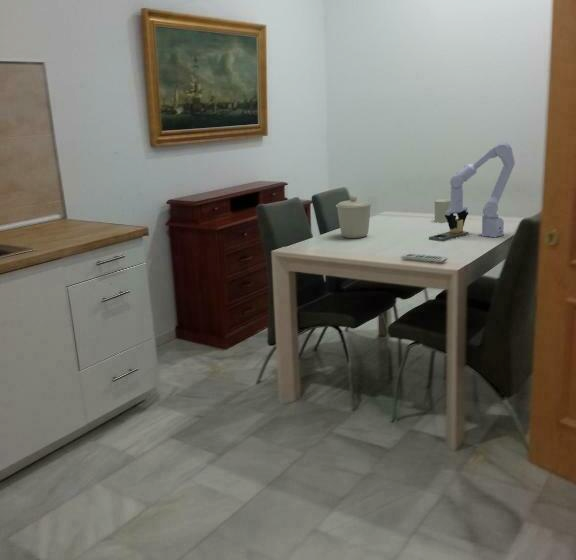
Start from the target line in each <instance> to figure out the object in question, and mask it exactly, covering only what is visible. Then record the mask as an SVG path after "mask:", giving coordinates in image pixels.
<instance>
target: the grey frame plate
mask: <svg viewBox="0 0 576 560" xmlns="http://www.w3.org/2000/svg"><path fill="white" fill-rule="evenodd" d="M467 234H468V235H469V231H465V230H463V233H459V234H453V233H450V230H449V231H446V232H442V233H439V234H438V233H437V234H436V235H431V236H428V240H430V241H437V242H447V241H448V240H454V239H456V237H457V238H460V236H461V237H464V236H468V235H467ZM463 235H464V236H463Z"/></svg>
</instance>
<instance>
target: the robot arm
mask: <svg viewBox="0 0 576 560" xmlns="http://www.w3.org/2000/svg"><path fill="white" fill-rule="evenodd" d="M514 156H515V155H514V153H513V148H512V147H511V145H510V144H509V143H508V141H507V142H506V141H500V142H499V143H498V144H497V145H494V146H492V147H491V148H490V149H488V150H486V152H485V153H484V154H483V155H481V156H480V157H479V158H478V159H477V160H475V161H474V162H473V163H468V164H464V166H463V168H461V170H459V171H457V172H456V173H455V175H453V176H452V177H451V178H450V180H449V183H450V200H451V208H450V209H449V210H448V211H446V214H445V218H446V219H447V221H448V222H447V224H448V228H449V230H450V229H454V224H455V219H462V220H463V227H464V226H465V221H466V219H467V217H468V215H469V212H468V207H467V206H464V205H463V203H464V200H463V199H464V191H463V184H464V182H467V181H469V180H470V179H471V178H472V177H473V176H475V175H476V174H477V169H479V168H480V167H481V166H483V165H484V164H485V163H486V162H488V161H489V160H490V159H494V158H497V157H498V158H499V159H500V160H501V162H502V164H503V166H502V168H501V171H500V173H499V176H498V178H497V180H496V182H495V185H494V187H493V190H492V192H491V195H490V197H489V199H488V201H487V202H486V203H485V204H484V207H483V209H482V214H483V215H482V218H481V219H482V220H481V221H482V222H481V225H482V227H481V229H482V230H481V232H482V233H478V236H481V235H482V236H481V237H488V236H489V238H497V237H501V236H504V235H505V233H504V227H505V226H504V224H505V223H504V219H503V218H501V217H499V214H497V211H498V209H499V208H498V205H499V202H500V199H501V198H502V195H503V193H504V191H505V188H506V185H507V183H508V181H509V179H510V177H511V174H512V172H513V168H514V166H515V164H516V162H515V157H514ZM454 214H456V215H454Z"/></svg>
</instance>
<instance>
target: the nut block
mask: <svg viewBox="0 0 576 560" xmlns="http://www.w3.org/2000/svg"><path fill="white" fill-rule="evenodd" d="M449 231H450V233H453V234H459V233H463V231H464V226H463V220H462V219H458V218H456V219H455V224H454V229H450V228H449Z"/></svg>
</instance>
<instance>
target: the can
mask: <svg viewBox="0 0 576 560" xmlns="http://www.w3.org/2000/svg"><path fill="white" fill-rule="evenodd" d="M450 208H451V199H448V198H447V199H446V198H445V199H444V198H441V199H436V200H434V221H435V222H434V223H437V222H439V223H440V224H443V223H444V224H445V222H447V223H448V221H447V219H446V218H445V214H446V211H448V210H449V209H450Z"/></svg>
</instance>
